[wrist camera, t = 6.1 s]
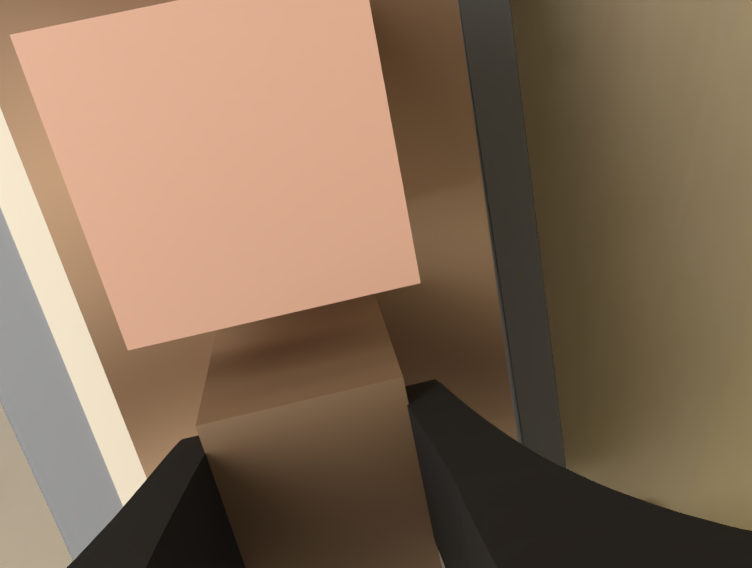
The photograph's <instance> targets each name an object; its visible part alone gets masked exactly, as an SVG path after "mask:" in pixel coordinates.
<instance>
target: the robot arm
mask: <svg viewBox="0 0 752 568" xmlns="http://www.w3.org/2000/svg"><path fill="white" fill-rule="evenodd" d="M405 389H406V393H407V398H408V403H409V405H407V407H408V412H409V417H410V422H411V427H412V432H413V437H414V442H415V447H416V452H417V457H418V462H419V467H420V472H421V476H422V481H423V486H424V491H425V496H426V501H427V506H428V511H429V516H430V520H431V525H432V530H433V535H434V540H435V543H436V545H437V548H438V550H439V553H440V555H441V558H442V560H443V563H444V565H445V568H752V531H749V530H743V529H739V528H735V527H730V526H727V525H723V524H719V523H715V522H712V521H708V520H704V519H701V518H697V517H693V516H689V515H686V514H682V513H679V512H676V511H673V510H669V509H666V508H663V507H660V506H657V505H654V504H651V503H648V502H645V501H642V500H640V499H637V498H634V497H631V496H629V495H626V494H623V493H621V492H618V491H615V490H612V489H610V488H608V487H605V486H603V485H600V484H598V483H596V482H593V481H591V480H589V479H587V478H584V477H582V476H580V475H578V474H576V473H574V472H572V471H570V470H568V469H566V468H564V467H561V466H559V465H557V464H555V463H553V462H552V461H550V460H548V459H546V458H544V457H542V456H540V455H539V454H537V453H535V452H534V451H532V450H531V449H529V448H527V447H526V446H524V445H522V444H521V443H519V442H518V441H516V440H515V439H513V438H512V437H510V436H509V435H507V434H506V433H504V432H503V431H501V430H500V429H499V428H497V427H496V426H494V425H493V424H492V423H490V422H489V421H487V420H486V419H484V418H483V417H482V416H481V415H479V414H478V413H477V412H475V411H474V410H473V409H471V408H470V407H469V406H468V405H466V404H465V403H464V402H463V401H462V400H460V399H459V398H458V397H457V396H456V395H454V394H453V393H452V392H451V391H450V390H449V389H448V388H446V387H445V386H444V385H443V384H442V383H440V382H439V381H437V380H436V379H434V380H429V381H425V382H421V383H417V384H413V385H408V386H405ZM67 568H245V565H244V562H243V559H242V556H241V553H240V551H239V548H238V545H237V542H236V539H235V536H234V533H233V530H232V528H231V525H230V522H229V519H228V516H227V513H226V510H225V508H224V505H223V502H222V499H221V496H220V493H219V491H218V488H217V485H216V482H215V479H214V476H213V473H212V471H211V468H210V465H209V462H208V459H207V456H206V454H205V452H204V449H203V446H202V443H201V440H200V438H199V435H198V436H193V437H189V438H185V439H181V440H180V441H179V442H178V443H177V444H176V445H175V446H174V448H173V449H172V450H171V451H170V452H169V453H168V454H167V456H166V457H165V458H164V459H163V460H162V461H161V463H160V464H159V465H158V466H157V467H156V469H155V470H154V471H153V472H152V473H151V475H150V476H149V477H148V478H147V479H146V481H145V482H144V483H143V484H142V485H141V487H140V488H139V489H138V490H137V491H136V492H135V494H134V495H133V496H132V497H131V498H130V499H129V501H128V502H127V503H126V504H125V505H124V506H123V508H122V509H121V510H120V511H119V512H118V513H117V515H116V516H115V517H114V518H113V519H112V520H111V521H110V522H109V523H108V524H107V526H106V527H105V528H104V529H103V530H102V531H101V532H100V533H99V534H98V535H97V536H96V537H95V538H94V539H93V540H92V542H91V543H90V544H89V545H88V546H87V547H86V548H85V549H84V550H83V551H82V552H81V553H80V554H79V555H78V556H77V558H76V559H75V560H74V561H73V562H72V563H71V564H70V565H69V566H68V567H67Z"/></svg>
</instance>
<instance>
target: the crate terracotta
mask: <svg viewBox="0 0 752 568" xmlns="http://www.w3.org/2000/svg"><path fill="white" fill-rule="evenodd" d="M10 38H11V40H12V43H13V46H14V48H15V51H16V54H17V56H18V59H19V62H20V64H21V67H22V70H23V72H24V75H25V78H26V80H27V83H28V86H29V88H30V91H31V94H32V96H33V99H34V102H35V104H36V107H37V110H38V112H39V115H40V118H41V120H42V123H43V126H44V128H45V131H46V134H47V136H48V139H49V141H50V144H51V147H52V149H53V152H54V155H55V157H56V160H57V163H58V165H59V168H60V171H61V173H62V176H63V179H64V181H65V184H66V187H67V189H68V192H69V195H70V197H71V200H72V203H73V205H74V208H75V211H76V213H77V216H78V219H79V221H80V224H81V227H82V229H83V232H84V235H85V237H86V240H87V243H88V245H89V248H90V251H91V253H92V256H93V259H94V261H95V264H96V267H97V269H98V272H99V275H100V277H101V280H102V283H103V285H104V288H105V291H106V293H107V296H108V299H109V301H110V304H111V307H112V309H113V312H114V315H115V317H116V320H117V323H118V325H119V328H120V331H121V333H122V336H123V339H124V341H125V344H126V347H127V349H128V350H132V349H137V348H141V347H145V346H150V345H154V344H158V343H163V342H167V341H171V340H176V339H180V338H184V337H189V336H193V335H197V334H202V333H206V332H211V331H215V330H219V329H224V328H228V327H232V326H237V325H241V324H245V323H250V322H254V321H258V320H263V319H267V318H271V317H276V316H280V315H284V314H289V313H293V312H297V311H302V310H306V309H310V308H315V307H319V306H323V305H328V304H332V303H336V302H341V301H345V300H349V299H354V298H358V297H362V296H367V295H371V294H375V293H380V292H384V291H389V290H393V289H397V288H402V287H406V286H410V285H415V284H419V283H421V282H420V277H419V271H418V266H417V260H416V255H415V249H414V244H413V238H412V233H411V227H410V222H409V216H408V211H407V205H406V200H405V194H404V189H403V183H402V178H401V172H400V167H399V161H398V156H397V150H396V145H395V139H394V134H393V128H392V123H391V117H390V112H389V106H388V101H387V95H386V90H385V84H384V79H383V73H382V68H381V62H380V57H379V51H378V46H377V40H376V35H375V29H374V24H373V18H372V13H371V7H370V2H369V0H176V1H171V2H167V3H162V4H157V5H152V6H147V7H142V8H137V9H132V10H128V11H123V12H118V13H113V14H108V15H103V16H98V17H94V18H89V19H84V20H79V21H74V22H69V23H64V24H60V25H55V26H50V27H45V28H40V29H35V30H30V31H26V32H21V33H16V34H11V35H10Z"/></svg>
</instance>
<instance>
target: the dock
mask: <svg viewBox="0 0 752 568" xmlns="http://www.w3.org/2000/svg"><path fill="white" fill-rule="evenodd" d="M458 6H459V13H460V20H461V28H462V35H463V42H464V50H465V57H466V64H467V72H468V79H469V87H470V94H471V101H472V109H473V116H474V123H475V131H476V138H477V145H478V153H479V160H480V168H481V175H482V182H483V190H484V197H485V204H486V212H487V219H488V226H489V234H490V241H491V248H492V256H493V263H494V271H495V278H496V285H497V293H498V300H499V307H500V315H501V322H502V329H503V337H504V344H505V352H506V359H507V366H508V374H509V381H510V388H511V396H512V403H513V410H514V418H515V425H516V433H517V440H518V442H519V443H521V444H522V445H524V446H526V447H527V448H529V449H531V450H532V451H534V452H535V453H537V454H539V455H540V456H542V457H544V458H546V459H548V460H550V461H552V462H553V463H555V464H557V465H559V466H561V467H564V468H566V464H565V456H564V447H563V439H562V431H561V423H560V414H559V406H558V398H557V390H556V381H555V373H554V365H553V356H552V348H551V340H550V332H549V323H548V315H547V307H546V299H545V290H544V282H543V274H542V266H541V257H540V249H539V241H538V232H537V224H536V216H535V208H534V199H533V191H532V183H531V175H530V166H529V158H528V150H527V141H526V133H525V125H524V117H523V108H522V100H521V92H520V84H519V75H518V67H517V59H516V51H515V42H514V34H513V26H512V17H511V9H510V1H509V0H458ZM0 403H1V405H2V407H3V409H4V411H5V413H6V416H7V418H8V420H9V422H10V424H11V426H12V429H13V431H14V433H15V435H16V437H17V440H18V442H19V444H20V446H21V448H22V450H23V453H24V455H25V457H26V459H27V461H28V464H29V466H30V468H31V470H32V472H33V474H34V477H35V479H36V481H37V483H38V485H39V487H40V490H41V492H42V494H43V496H44V498H45V501H46V503H47V505H48V507H49V509H50V511H51V514H52V516H53V518H54V520H55V522H56V525H57V527H58V529H59V531H60V533H61V535H62V538H63V540H64V542H65V544H66V546H67V549H68V551H69V553H70V555H71V557H72V559H73V561H74V560H75V559H76V558H77V556H78V555H79V554H80V553H81V552H82V551H83V550H84V549H85V548H86V547H87V546H88V545H89V544H90V543H91V542H92V540H93V539H94V538H95V537H96V536H97V535H98V534H99V533H100V532H101V531H102V530H103V529H104V528H105V527H106V526H107V524H108V523H109V522H110V521H111V520H112V519H113V518H114V517H115V516H116V515H117V513H118V512H119V511H120V510H121V509H122V508H123V506H124V505H125V504H126V503H127V502H128V501H129V499H130V498H131V497H132V496H133V495H134V494H135V492H136V491H137V490H138V489H139V488H140V487H141V485H142V484H143V483H144V482H145V481H146V479H147V478H146V475H145V473H144V470H143V468H142V465H141V463H140V460H139V458H138V455H137V453H136V450H135V447H134V445H133V442H132V440H131V437H130V435H129V432H128V430H127V427H126V425H125V422H124V420H123V417H122V415H121V412H120V409H119V407H118V404H117V402H116V399H115V397H114V394H113V392H112V389H111V387H110V384H109V382H108V379H107V377H106V374H105V371H104V369H103V366H102V364H101V361H100V359H99V356H98V354H97V351H96V349H95V346H94V344H93V341H92V339H91V336H90V333H89V331H88V328H87V326H86V323H85V321H84V318H83V316H82V313H81V311H80V308H79V306H78V303H77V301H76V298H75V295H74V293H73V290H72V288H71V285H70V283H69V280H68V278H67V275H66V273H65V270H64V268H63V265H62V263H61V260H60V257H59V255H58V252H57V250H56V247H55V245H54V242H53V240H52V237H51V235H50V232H49V230H48V227H47V224H46V222H45V219H44V217H43V214H42V212H41V209H40V207H39V204H38V202H37V199H36V197H35V194H34V192H33V189H32V186H31V184H30V181H29V179H28V176H27V174H26V171H25V169H24V166H23V164H22V161H21V159H20V156H19V154H18V151H17V148H16V146H15V143H14V141H13V138H12V136H11V133H10V131H9V128H8V126H7V123H6V121H5V118H4V116H3V113H2V110H1V108H0Z"/></svg>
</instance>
